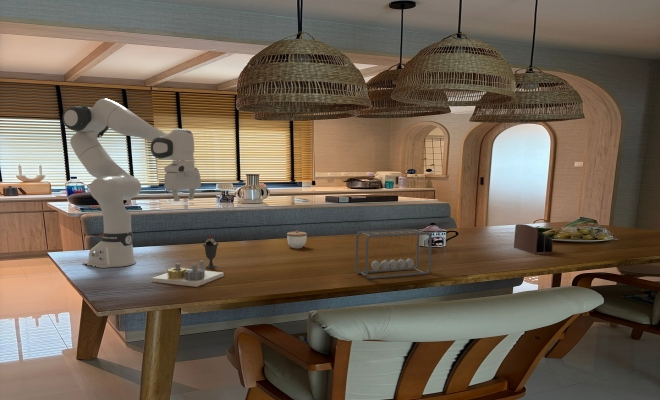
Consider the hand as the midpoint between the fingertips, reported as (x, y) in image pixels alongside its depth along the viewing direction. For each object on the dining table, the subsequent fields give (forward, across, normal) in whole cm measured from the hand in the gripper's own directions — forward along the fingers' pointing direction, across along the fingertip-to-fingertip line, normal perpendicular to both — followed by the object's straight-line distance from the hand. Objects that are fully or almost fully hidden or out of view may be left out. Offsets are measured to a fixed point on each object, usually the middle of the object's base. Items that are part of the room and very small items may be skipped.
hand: (184, 200), depth 205 cm
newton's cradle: (+29, -24, +85) cm, 93 cm away
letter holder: (+29, -106, +142) cm, 180 cm away
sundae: (+29, -6, +9) cm, 31 cm away
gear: (+28, +20, +11) cm, 36 cm away
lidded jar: (+29, -66, +23) cm, 76 cm away
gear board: (+29, +15, +13) cm, 35 cm away
